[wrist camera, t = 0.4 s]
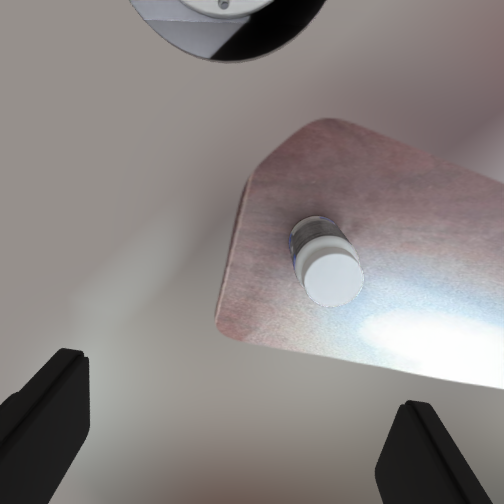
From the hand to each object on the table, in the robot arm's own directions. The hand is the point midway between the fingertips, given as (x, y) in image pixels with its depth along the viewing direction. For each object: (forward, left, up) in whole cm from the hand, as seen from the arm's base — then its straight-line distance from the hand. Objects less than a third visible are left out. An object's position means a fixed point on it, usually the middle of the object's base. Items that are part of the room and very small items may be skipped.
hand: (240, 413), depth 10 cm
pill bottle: (+1, +5, -21) cm, 22 cm away
